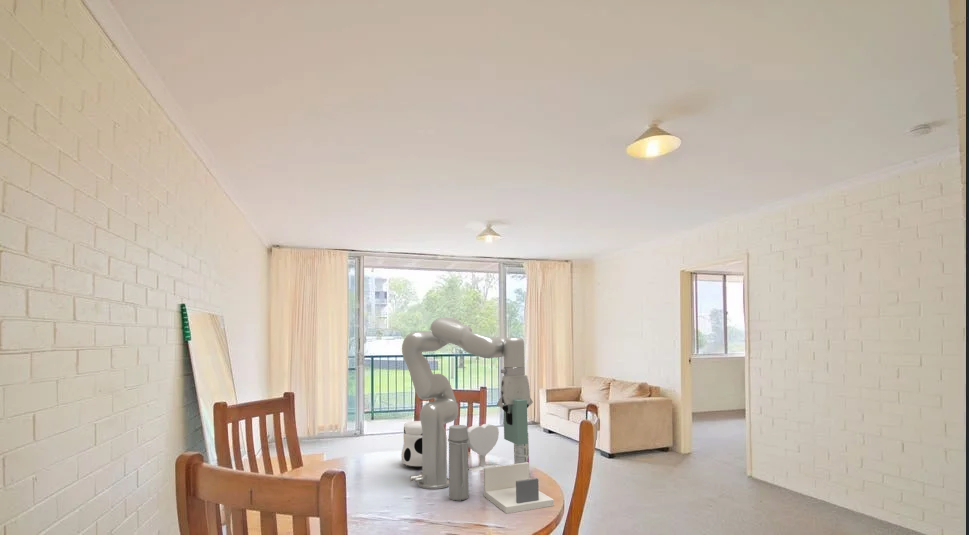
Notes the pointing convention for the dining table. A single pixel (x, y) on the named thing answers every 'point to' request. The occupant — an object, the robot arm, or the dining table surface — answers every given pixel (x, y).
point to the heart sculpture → (482, 442)
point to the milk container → (412, 445)
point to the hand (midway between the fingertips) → (515, 423)
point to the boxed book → (517, 423)
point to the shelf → (514, 488)
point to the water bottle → (458, 462)
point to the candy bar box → (521, 453)
